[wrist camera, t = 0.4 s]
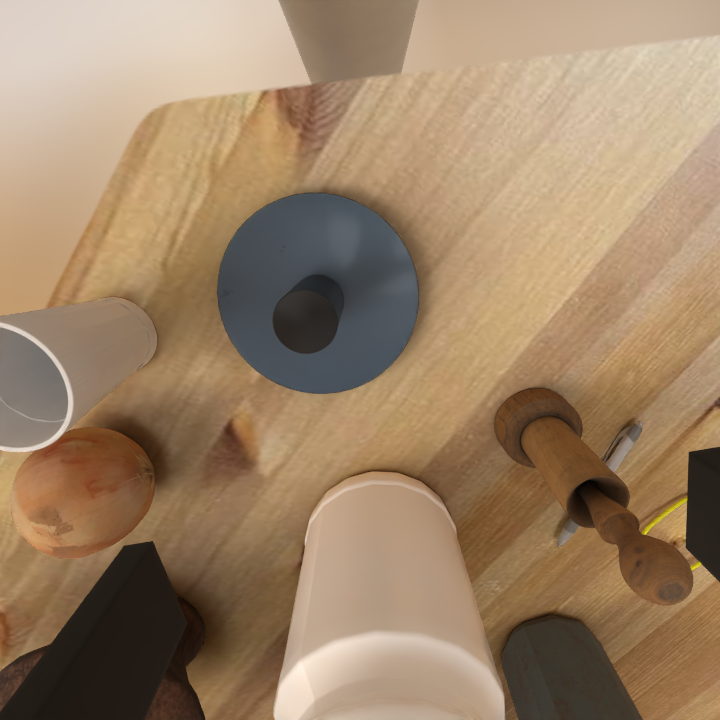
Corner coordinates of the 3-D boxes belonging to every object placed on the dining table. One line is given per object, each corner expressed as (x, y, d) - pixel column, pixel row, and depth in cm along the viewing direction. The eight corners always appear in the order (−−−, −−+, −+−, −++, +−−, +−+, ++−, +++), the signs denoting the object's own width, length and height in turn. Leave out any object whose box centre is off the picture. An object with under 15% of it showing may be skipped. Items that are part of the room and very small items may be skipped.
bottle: (278, 532, 41) (119, 1100, 15) (376, 438, 38) (401, 950, 11) (383, 609, 44) (411, 1202, 17) (483, 528, 41) (705, 1105, 14)
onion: (43, 432, 38) (-64, 502, 29) (137, 392, 37) (58, 451, 27) (103, 516, 41) (24, 605, 31) (194, 481, 40) (139, 564, 30)
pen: (639, 419, 37) (650, 426, 36) (558, 541, 41) (565, 551, 40) (629, 415, 37) (639, 422, 36) (549, 537, 41) (555, 548, 40)
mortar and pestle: (496, 459, 38) (601, 650, 21) (491, 393, 36) (602, 546, 19) (571, 449, 38) (739, 636, 21) (570, 382, 36) (755, 528, 19)
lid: (197, 215, 32) (139, 213, 24) (401, 174, 31) (414, 157, 23) (250, 402, 37) (217, 454, 29) (429, 371, 36) (448, 417, 28)
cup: (172, 380, 36) (85, 453, 25) (80, 379, 37) (-50, 451, 25) (160, 287, 34) (56, 320, 23) (60, 285, 34) (-93, 318, 23)
